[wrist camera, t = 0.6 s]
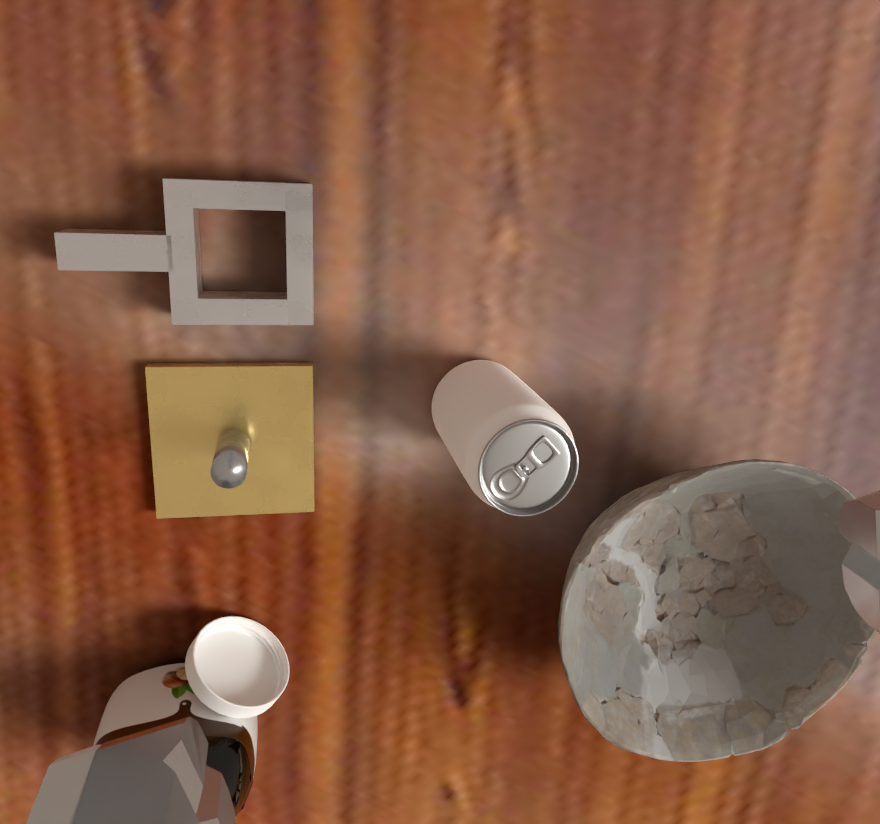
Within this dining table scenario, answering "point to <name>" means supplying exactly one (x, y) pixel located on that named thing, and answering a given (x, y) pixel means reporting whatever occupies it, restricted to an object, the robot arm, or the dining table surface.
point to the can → (504, 438)
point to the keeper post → (231, 438)
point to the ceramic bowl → (711, 611)
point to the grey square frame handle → (183, 252)
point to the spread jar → (208, 696)
